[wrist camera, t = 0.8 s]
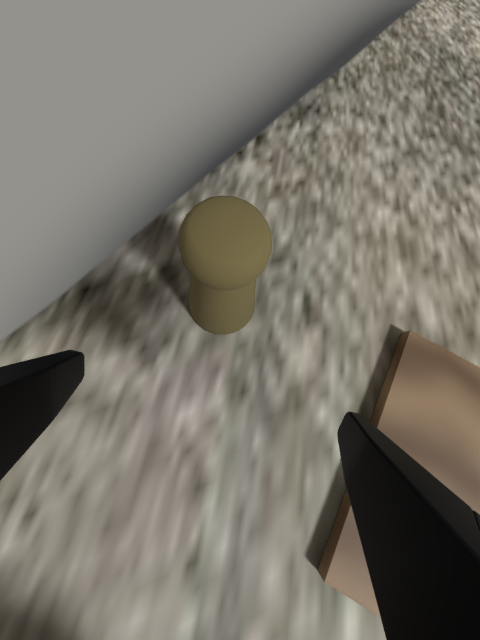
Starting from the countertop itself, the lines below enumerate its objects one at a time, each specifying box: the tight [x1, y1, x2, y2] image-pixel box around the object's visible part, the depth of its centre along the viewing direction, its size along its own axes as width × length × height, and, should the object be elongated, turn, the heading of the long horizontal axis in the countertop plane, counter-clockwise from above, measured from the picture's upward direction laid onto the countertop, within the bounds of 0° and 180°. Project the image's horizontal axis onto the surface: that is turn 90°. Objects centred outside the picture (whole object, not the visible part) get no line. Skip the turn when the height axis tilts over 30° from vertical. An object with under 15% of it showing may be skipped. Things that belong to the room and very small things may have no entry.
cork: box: [178, 196, 272, 335], centre depth 18 cm, size 6×6×11 cm
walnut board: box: [318, 330, 480, 617], centre depth 20 cm, size 20×16×1 cm
